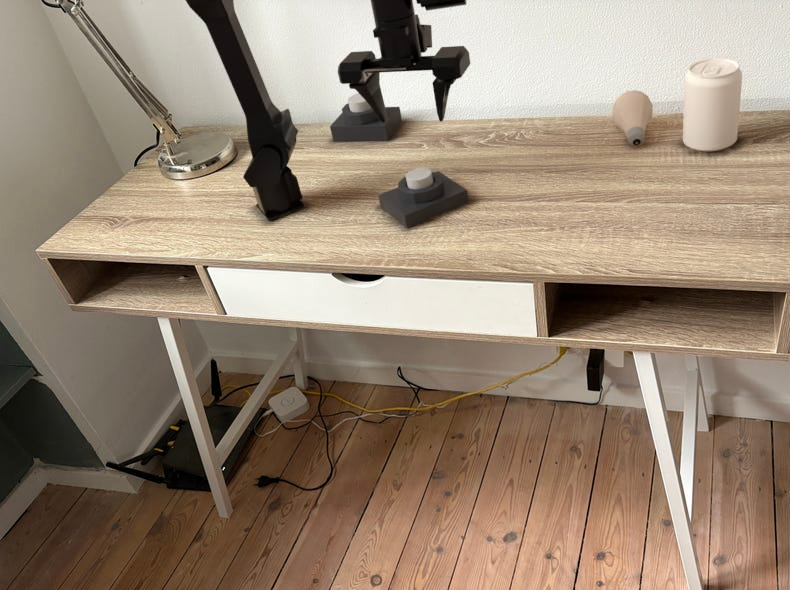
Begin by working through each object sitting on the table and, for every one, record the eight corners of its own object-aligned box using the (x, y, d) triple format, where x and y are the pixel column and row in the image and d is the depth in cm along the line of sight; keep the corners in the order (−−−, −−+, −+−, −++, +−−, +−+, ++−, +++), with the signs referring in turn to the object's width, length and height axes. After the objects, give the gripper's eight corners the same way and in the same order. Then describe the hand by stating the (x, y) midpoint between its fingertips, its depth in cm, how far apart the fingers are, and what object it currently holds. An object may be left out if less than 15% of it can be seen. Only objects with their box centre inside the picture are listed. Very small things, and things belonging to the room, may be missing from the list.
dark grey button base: (407, 228, 123) (402, 205, 120) (380, 207, 129) (375, 184, 127) (469, 202, 126) (465, 178, 124) (440, 183, 133) (436, 160, 130)
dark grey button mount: (402, 121, 154) (397, 96, 151) (388, 140, 149) (382, 114, 146) (349, 123, 158) (343, 97, 155) (333, 141, 152) (327, 116, 149)
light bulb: (654, 121, 127) (647, 76, 133) (611, 132, 129) (606, 88, 135) (661, 152, 132) (654, 108, 138) (620, 163, 134) (614, 118, 140)
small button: (415, 193, 123) (413, 182, 122) (403, 184, 126) (401, 174, 125) (438, 183, 125) (436, 173, 123) (425, 175, 127) (423, 165, 126)
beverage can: (743, 134, 129) (750, 58, 122) (727, 157, 124) (733, 79, 117) (692, 129, 133) (696, 55, 126) (675, 151, 128) (677, 75, 121)
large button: (379, 102, 151) (377, 91, 150) (370, 113, 148) (368, 102, 147) (355, 103, 153) (353, 92, 152) (346, 114, 150) (343, 103, 148)
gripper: (473, -9, 117) (485, 97, 127) (353, 0, 123) (374, 101, 133) (451, 18, 109) (466, 128, 119) (325, 26, 115) (349, 131, 125)
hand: (413, 121), depth 124 cm, fingers open, 9 cm apart
